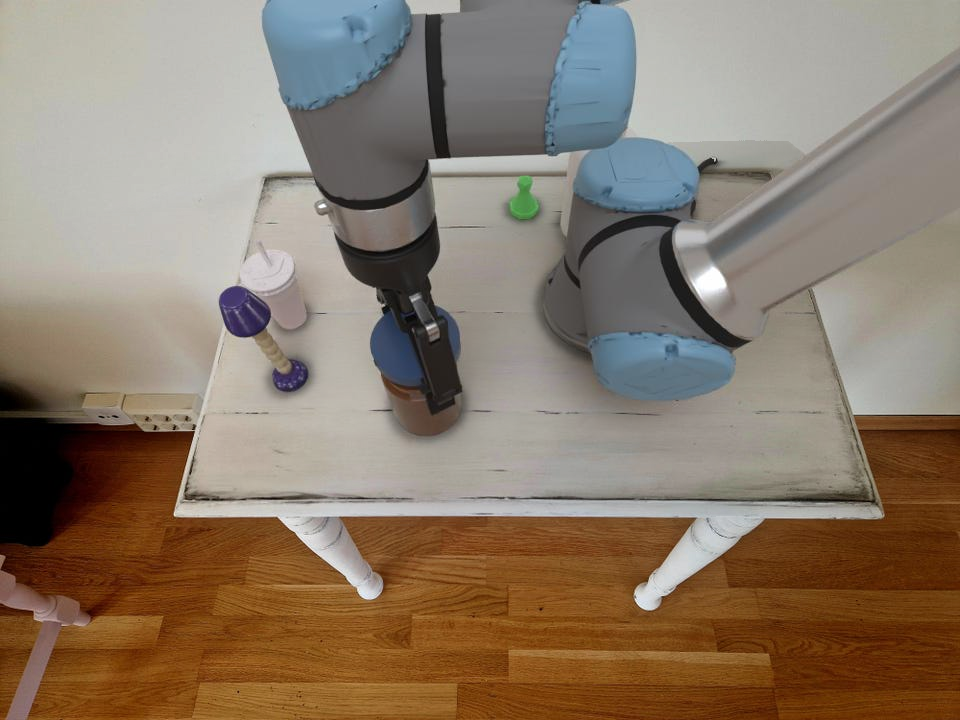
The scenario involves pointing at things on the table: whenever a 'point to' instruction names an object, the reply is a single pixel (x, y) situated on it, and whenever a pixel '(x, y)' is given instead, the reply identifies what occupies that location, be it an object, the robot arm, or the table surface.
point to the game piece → (524, 200)
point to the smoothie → (275, 285)
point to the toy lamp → (260, 334)
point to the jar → (419, 410)
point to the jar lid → (403, 349)
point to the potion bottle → (571, 175)
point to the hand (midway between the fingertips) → (422, 372)
